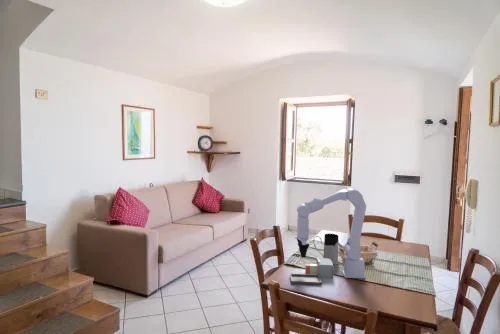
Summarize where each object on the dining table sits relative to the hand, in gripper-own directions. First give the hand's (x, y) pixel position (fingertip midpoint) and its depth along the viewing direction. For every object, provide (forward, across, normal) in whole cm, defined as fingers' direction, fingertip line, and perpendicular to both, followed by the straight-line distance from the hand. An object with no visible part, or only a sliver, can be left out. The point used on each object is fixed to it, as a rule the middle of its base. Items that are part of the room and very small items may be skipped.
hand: (302, 254), depth 162 cm
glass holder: (+10, -18, +15) cm, 25 cm away
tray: (+10, +9, +1) cm, 13 cm away
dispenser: (+10, 0, +11) cm, 15 cm away
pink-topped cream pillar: (+10, 0, +7) cm, 12 cm away
